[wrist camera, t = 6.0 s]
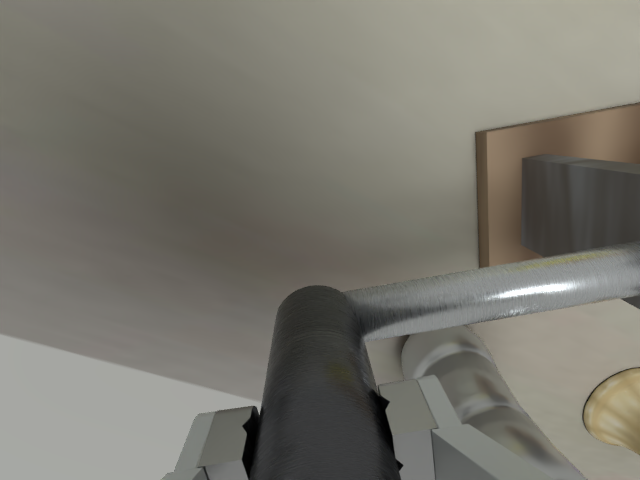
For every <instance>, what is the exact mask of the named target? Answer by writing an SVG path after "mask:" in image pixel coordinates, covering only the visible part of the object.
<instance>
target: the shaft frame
mask: <svg viewBox="0 0 640 480" xmlns="http://www.w3.org/2000/svg"><path fill="white" fill-rule="evenodd" d="M476 161H477V194H478V227H479V260H480V268H485V267H490V266H496V265H502V264H508V263H514V262H519V261H525V260H531V259H537V258H543V257H548V256H554V255H560V254H566V253H572V252H577V251H583V250H589V249H595V248H600V247H606V246H612V245H618V244H624V243H629V242H635V241H640V103H635V104H629V105H623V106H618V107H612V108H607V109H601V110H596V111H590V112H585V113H579V114H574V115H568V116H563V117H557V118H552V119H546V120H540V121H535V122H529V123H524V124H518V125H513V126H507V127H502V128H496V129H491V130H485V131H480V132H476ZM621 299H622V300H624V301H626V302H627V303H629V304H631V305H633V306H635V307H637V308H638V309H640V295H639V296H633V297H627V298H621Z"/></svg>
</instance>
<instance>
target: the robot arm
mask: <svg viewBox="0 0 640 480" xmlns="http://www.w3.org/2000/svg"><path fill="white" fill-rule="evenodd" d="M378 394H379V399H380V403H381V407H382V411H383V415H384V418H385V420H386V424H387V428H388V433H389V437H390V441H391V444H392V448H393V452H394V455H395V459H396V462H397V465H398V469H399V473H400V476H401V480H554V479H553V478H551V477H550V476H548V475H546V474H545V473H543V472H542V471H540V470H539V469H537V468H536V467H534V466H533V465H531V464H529V463H528V462H526V461H525V460H523V459H522V458H520V457H519V456H517V455H516V454H514V453H512V452H511V451H509V450H508V449H506V448H505V447H503V446H502V445H500V444H499V443H497V442H496V441H494V440H492V439H491V438H489V437H488V436H486V435H485V434H483V433H482V432H480V431H479V430H477V429H475V428H474V427H472V426H471V425H469V424H464V425H462V424H461V422H460V420H459V418H458V416H457V414H456V412H455V410H454V409H453V407H452V405H451V403H450V401H449V399H448V397H447V395H446V393H445V392H444V390H443V388H442V386H441V384H440V382H439V380H438V378H437V377H436V376H435V375H429V376H424V377H418V378H415V379H409V380H403V381H397V382H392V383H386V384H380V385H378ZM259 417H260V416H259V413H258V410H257V408H256V407H255V406H248V407H241V408H234V409H227V410H219V411H217V412H209V413H201V414H198V415H197V416H196V417H195V419H194V422H193V424H192V426H191V429H190V431H189V434H188V437H187V439H186V442H185V444H184V447H183V450H182V452H181V454H180V457H179V460H178V462H177V465H176V467H175V470H174V472H171V473H167V474H166V475H165V476H164V477H163V478H162V479H161V480H249V477H250V471H251V465H252V459H253V453H254V447H255V441H256V435H257V429H258V423H259Z"/></svg>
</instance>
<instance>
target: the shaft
mask: <svg viewBox="0 0 640 480" xmlns="http://www.w3.org/2000/svg"><path fill="white" fill-rule="evenodd" d="M639 295H640V241H635V242H629V243H624V244H618V245H612V246H606V247H600V248H595V249H589V250H583V251H577V252H572V253H566V254H560V255H554V256H548V257H543V258H537V259H531V260H525V261H519V262H514V263H508V264H502V265H496V266H490V267H485V268H479V269H473V270H467V271H462V272H456V273H450V274H444V275H438V276H433V277H427V278H421V279H415V280H409V281H404V282H398V283H392V284H386V285H381V286H375V287H369V288H363V289H357V290H352V291H346V292H340V291H338V290H336V289H334V288H331V287H327V286H308V287H304V288H301V289H298V290H297V291H295V292H293V293H292V294H290V295H289V296H288V297H287V298H286V299H285V300H284V301H283V302H282V304H281V305H280V307H279V309H278V312H277V315H276V321H275V327H274V333H273V339H272V345H271V351H270V357H269V363H268V369H267V375H266V381H265V387H264V393H263V399H262V405H261V411H260V417H259V423H258V429H257V435H256V441H255V447H254V453H253V459H252V465H251V471H250V477H249V480H401V476H400V473H399V469H398V465H397V462H396V459H395V455H394V452H393V448H392V444H391V441H390V437H389V433H388V428H387V424H386V420H385V418H384V415H383V411H382V407H381V403H380V399H379V394H378V391H377V387H376V383H375V379H374V376H373V372H372V368H371V364H370V361H369V357H368V353H367V350H366V346H365V342H367V341H373V340H379V339H385V338H391V337H397V336H403V335H409V334H415V333H420V332H426V331H432V330H438V329H444V328H450V327H456V326H462V325H468V324H473V323H479V322H485V321H491V320H497V319H503V318H509V317H515V316H521V315H527V314H532V313H538V312H544V311H550V310H556V309H562V308H568V307H574V306H580V305H585V304H591V303H597V302H603V301H609V300H615V299H621V298H627V297H633V296H639Z"/></svg>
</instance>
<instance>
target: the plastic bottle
mask: <svg viewBox="0 0 640 480" xmlns="http://www.w3.org/2000/svg"><path fill="white" fill-rule="evenodd" d="M401 363H402V370H403V376H404V380H409V379H415V378H418V377H424V376H429V375H435V376H436V377H437V378H438V380H439V382H440V384H441V386H442V388H443V390H444V392H445V393H446V395H447V397H448V399H449V401H450V403H451V405H452V407H453V409H454V410H455V412H456V414H457V416H458V418H459V420H460V422H461V424H462V425H464V424H469V425H471V426H472V427H474V428H475V429H477V430H479V431H480V432H482V433H483V434H485V435H486V436H488V437H489V438H491V439H492V440H494V441H496V442H497V443H499V444H500V445H502V446H503V447H505V448H506V449H508V450H509V451H511V452H512V453H514V454H516V455H517V456H519V457H520V458H522V459H523V460H525V461H526V462H528V463H529V464H531V465H533V466H534V467H536V468H537V469H539V470H540V471H542V472H543V473H545V474H546V475H548V476H550V477H551V478H553V479H554V480H588V479H587V478H586V477H585V476H584V475H583V474H582V473H581V472H580V471H579V470H578V469H577V468H576V467H575V466H574V465H573V464H572V463H571V462H570V461H569V460H568V459H567V458H566V457H565V456H564V455H563V454H562V453H561V452H560V451H559V450H558V449H557V448H556V447H555V446H554V445H553V444H552V443H551V442H550V440H549V439H548V438H547V437H546V436H545V434H544V433H543V432H542V431H541V430H540V428H539V427H538V426H537V425H536V424H535V423H534V421H533V420H531V418H530V417H529V415H528V414H527V413H526V412H525V411H524V409H523V408H522V407H521V406H520V405H519V403H518V401H517V400H516V398H515V397H514V395H513V394H512V392H511V390H510V389H509V387H508V386H507V384H506V382H505V381H504V379H503V378H502V376H501V375H500V373H499V371H498V369H497V367H496V365H495V362H494V360H493V358H492V356H491V354H490V352H489V351H488V349H487V347H486V345H485V344H484V342H483V341H482V340H481V338H480V337H478V336H477V335H476V334H475V333H473V332H472V331H471V330H470V329H468V328H467V327H466V326H465V325H462V326H456V327H450V328H444V329H438V330H432V331H426V332H420V333H415V334H411V335H410V336H409V338H408V339H407V341H406V343H405V345H404V347H403V350H402V355H401Z"/></svg>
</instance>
